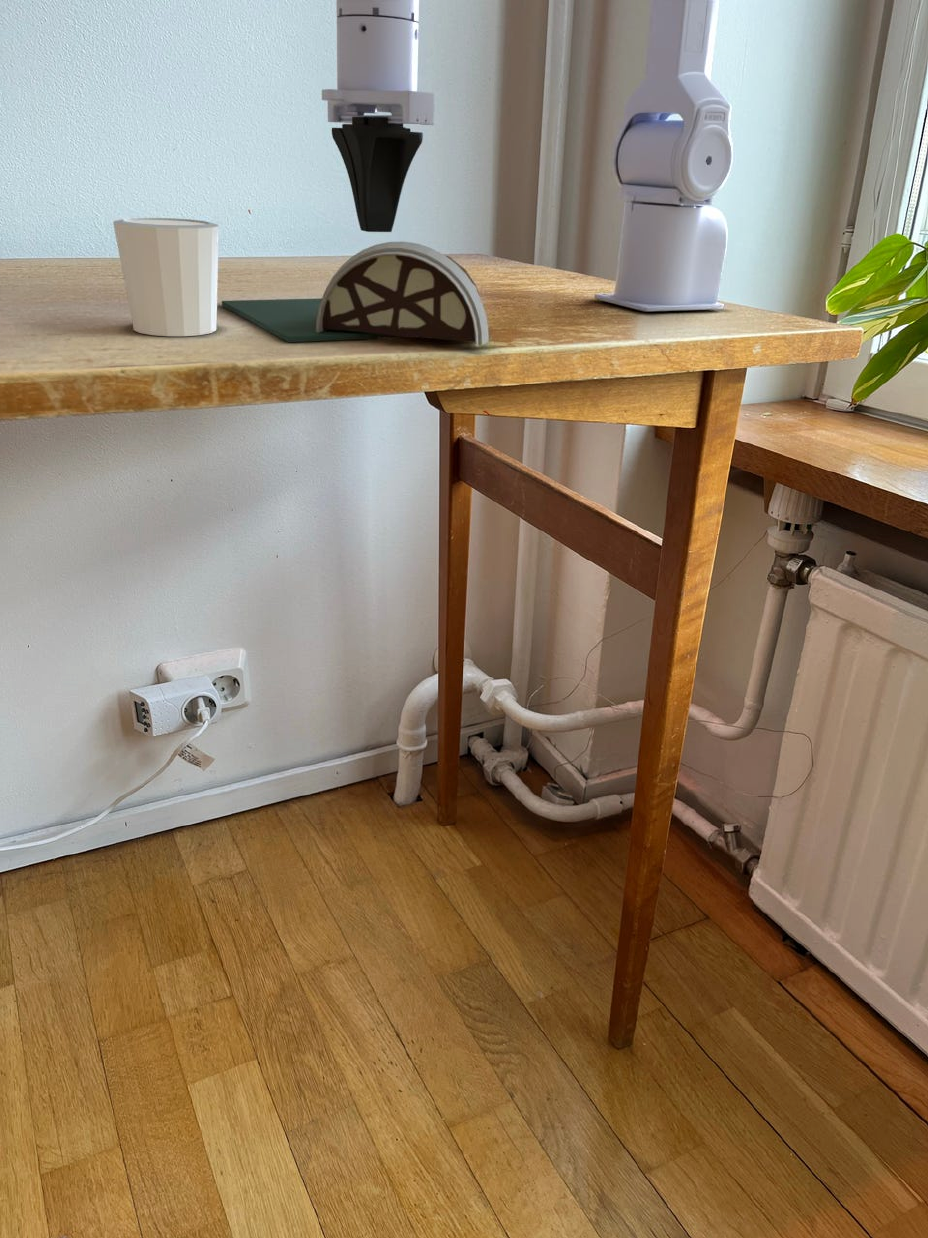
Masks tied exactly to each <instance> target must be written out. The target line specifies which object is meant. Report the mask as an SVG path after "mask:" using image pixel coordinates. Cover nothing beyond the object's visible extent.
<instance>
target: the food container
mask: <svg viewBox="0 0 928 1238" xmlns="http://www.w3.org/2000/svg"><path fill="white" fill-rule="evenodd" d="M321 298H322V300H321V302H320V305H319V309H318V314H317V320H316V331H317V333H319V332H322V331H324V330H332V331H337V330H339V331H352V332H363V333H374V334H383V335H392V336H404V337H403V338H420V339H421V338H422V339H435V340H446V341H459V342H472V343H474V342H475V347H478V346H484V345H485V344H487V343H489V341H490V340H489V339H490V338H489V324H488V318H487V313H486V310H485V307H484V303H483V300H482V298H481V296H480V293H479V289H478V286H477V285H476V284H475V282H474V280H473V279H472V277H471V276H470V275H469V272H468V271H467V270H466V269H465V268H464V267H463V266H462V265H460V264H459V263H458V262H457V261H456V260H454V259H453V258H452V257H451V256H449V255H446V254H443V253H442V252H439V251H438V250H436V249H434V248H433V247H429V246H426V245H424V244H420V243H417V242H416V243H415V242H410V241H387V242H382V243H377V244H374V245H371V246H368V247H366V248H364V249H362V250H360V251H359V252H357V253H356V254H353V255H352V256H351V257H349V259H347V260H346V262H344V263H343V264H342V265H341V266H340V267H339V268H338V270H337V271H336V272H335V273H334V275H332V277H331V279H330V280H329V283H328V284H327V286H326V288H325V290H324V292H323V294H322V297H321Z"/></svg>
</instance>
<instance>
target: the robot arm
mask: <svg viewBox="0 0 928 1238" xmlns="http://www.w3.org/2000/svg"><path fill="white" fill-rule="evenodd" d="M650 2H651V3H650V13H649V14H650V15H649V25H648V36H647V37H648V38H647V47H646V59H645V70H644V78H643V80H642V81H641V83H640V84H639V85H638V87H636V89H635V90H634V91H633V93H631V95H630V96H629V98H628V99H627V100H626V102H625V104H624V105H623V115H622V123H621V126H620V128H619V132H618V134H617V135H616V138H615V141H614V144H613V147H612V152H611V171H612V175H613V179H614V181H615V183H616V184H617V185H618V187H619V189H621V190H620V199H621V200H625V201H624V205H623V206H624V207H623V214H622V222H621V231H620V239H619V247H618V255H617V256H618V257H617V263H616V264H617V265H616V273H615V283H614V290H613V293H595V294H594V296H593V299H594V300H597V301H602V302H605V303H610V304H613V305H616V306H621V307H625V308H628V309H633V310H636V311H640V312H648V313H649V312H650V313H651V312H674V311H675V312H676V311H678V312H679V311H699V310H700V311H702V310H703V311H704V310H722V309H723V308H724V304H723V303H721V302H718V301H719V295H720V288H721V282H722V276H723V270H724V263H725V258H726V252H727V245H728V237H729V236H728V235H729V234H728V225H727V221H726V218H725V217H724V215H723V213H722V212H721V211H720V210H719V209H718V208H716V207H714V206H712V204H713V199H714V196H715V195H717V194H718V193H719V192H720V191H721V190H722V188H723V186H724V185H725V183H726V182H727V179H728V178H729V175H730V173H731V170H732V166H733V158H734V155H733V153H734V148H733V142H732V141H733V140H732V136H731V129H730V125H731V123H730V120H731V112H732V105H731V103H730V101H729V99H727V98H726V97H725V96H724V94H723V93H722V92H721V91H720V89H718V88H717V86H716V85H715V84H714V83H713V81H712V80H711V72H712V64H713V55H714V46H715V38H716V29H717V22H718V15H719V13H718V12H719V4H720V0H651V1H650ZM419 24H420V0H336V88H325V89H321V100H322V101H326V102H327V122H328V123H335V124H336V123H338V124H339V123H342V124H341V127H331V136H332V137H331V138H332V140H333V141H334V143H335V145H336V147H337V149H338V151H339V153H340V156H341V158H342V161H343V163H344V167H345V169H346V173H347V175H348V179H349V183H350V188H351V192H352V196H353V197H352V198H353V202H354V207H355V212H356V216H357V221H358V225H359V228H360V231H363V232H367V233H368V232H369V233H392V231H393V228H394V225H395V222H396V221H395V220H396V217H397V213H398V208H399V203H400V199H401V194H402V191H403V187H404V184H405V182H406V181H405V180H406V178H407V175H408V172H409V169H410V167H411V164H412V161H413V160H414V158H415V156H416V154H417V152H418V150H419V148H420V147H421V145H422V144H423V140H424V133H423V132H420V131H411V128H408V127H404V125H422V126H434V125H435V117H436V116H435V115H436V114H435V113H436V93H435V92H430V91H418V76H419V75H418V74H419V73H418V71H419V70H418V69H419V31H420V30H419V27H420V25H419ZM378 113H390V114H391V115H390V114H389V115H388V114H387V115H385V114H382V115H381V114H380V115H378ZM369 114H370V115H369ZM371 114H373V115H371ZM674 115H679V116H680V117H681V119H682V120H680V119H679V120H677V119H676V120H675V119H672V120H671V119H669V118H670V117H672V116H674Z"/></svg>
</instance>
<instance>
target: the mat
mask: <svg viewBox="0 0 928 1238" xmlns="http://www.w3.org/2000/svg"><path fill="white" fill-rule="evenodd" d="M321 300H322V297H320V298H284V299H283V298H282V299H281V298H280V299H240V300H239V299H238V300H237V299H235V300H222V301H221V306H222V307H224V308H225V309H227V310H229V311H231V312H232V313H235V314H236V315H238V316H240V317H241V318H243V319H245V320H247V321H248V322H251V323H253V324H254V325H255V326H258V327H259V328H261V329H263V330H265V331H266V332H269V333H270V334H273V336H276V337H278V338H279V339H281V340H283V341H285V342H287V343H306V342H307V343H308V342H329V341H330V342H331V341H332V342H333V341H350V340H351V341H355V340H375V339H376V340H377V339H396V338H405V337H404V336H392V335H383V334H374V333H363V332H352V331H339V330H337V331H332V330H324V331H322V332H319V333H317V331H316V320H317V314H318V309H319V305H320V302H321Z"/></svg>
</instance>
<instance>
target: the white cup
mask: <svg viewBox="0 0 928 1238" xmlns="http://www.w3.org/2000/svg"><path fill="white" fill-rule="evenodd" d="M112 224H113V228H114V235H115V239H116V244H117V249H118V256H119V260H120V266H121V270H122V276H123V281H124V286H125V291H126V296H127V302H128V307H129V312H130V317H131V322H132V327H133V328H132V329H133V331H135V332H137V333H139V334H144V335H148V336H159V337H194V336H203V335H209V334H212V333H214V332H216V331H217V322H218V321H217V316H218V281H219V279H218V277H219V238H220V226H219V224H218V223H214V222H210V221H205V220H198V219H190V218H189V219H188V218H172V217H130V218H124V219H117V220H113V222H112Z"/></svg>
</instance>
